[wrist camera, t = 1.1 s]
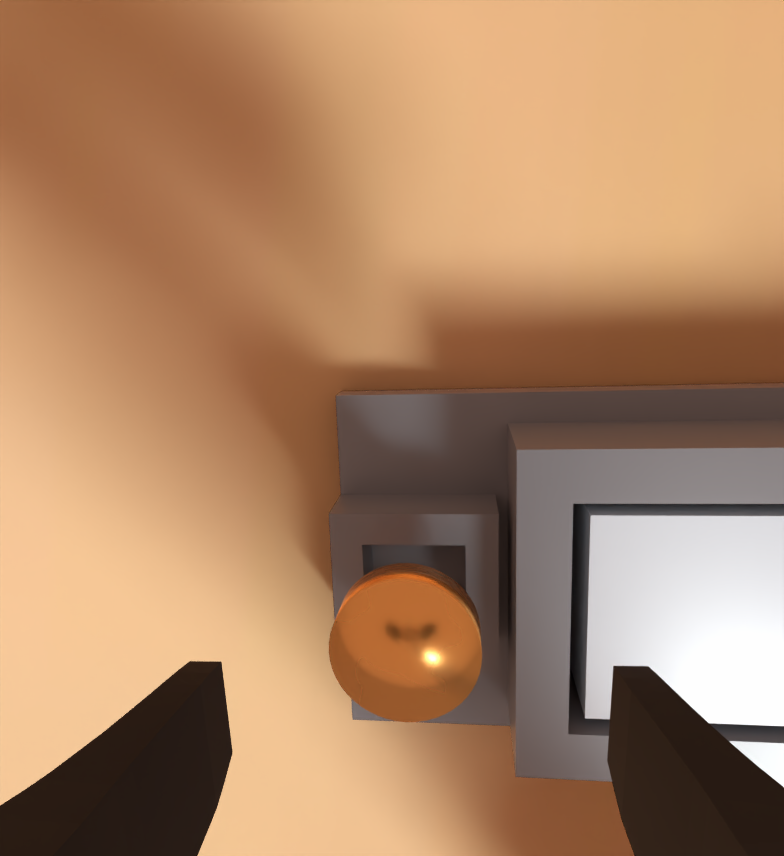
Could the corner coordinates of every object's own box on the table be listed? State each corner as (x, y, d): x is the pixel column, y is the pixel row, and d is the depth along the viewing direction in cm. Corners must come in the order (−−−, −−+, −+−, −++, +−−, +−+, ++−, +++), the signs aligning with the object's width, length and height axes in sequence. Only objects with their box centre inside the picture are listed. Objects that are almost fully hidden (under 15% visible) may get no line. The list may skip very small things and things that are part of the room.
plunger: (480, 658, 20) (482, 725, 17) (353, 654, 20) (332, 719, 17) (478, 536, 19) (481, 583, 16) (346, 536, 20) (324, 581, 17)
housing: (1029, 727, 22) (1179, 842, 17) (357, 702, 25) (332, 795, 20) (1093, 376, 20) (1286, 402, 15) (341, 391, 22) (309, 415, 18)
